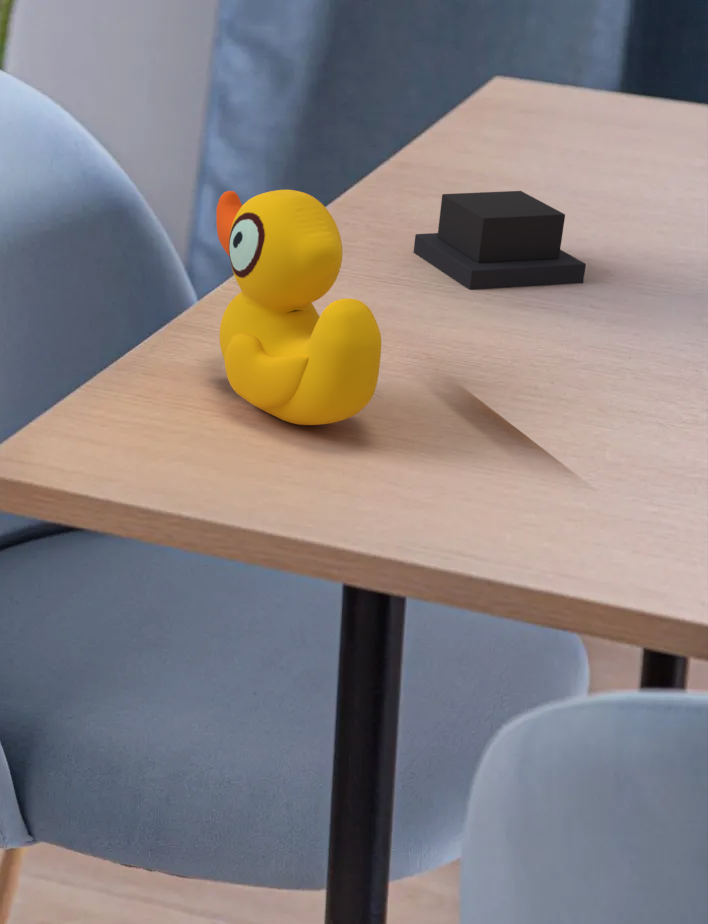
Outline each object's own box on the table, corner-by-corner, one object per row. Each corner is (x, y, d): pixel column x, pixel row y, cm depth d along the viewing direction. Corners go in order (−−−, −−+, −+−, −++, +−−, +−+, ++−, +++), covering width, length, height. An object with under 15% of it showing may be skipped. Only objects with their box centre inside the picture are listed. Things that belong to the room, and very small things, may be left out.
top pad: (515, 233, 101) (521, 190, 100) (559, 258, 97) (565, 214, 96) (436, 237, 100) (441, 193, 99) (478, 263, 95) (483, 218, 94)
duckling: (165, 378, 84) (175, 171, 80) (257, 362, 87) (272, 161, 83) (305, 464, 76) (325, 237, 71) (403, 443, 78) (428, 223, 74)
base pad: (518, 269, 103) (524, 228, 102) (579, 307, 97) (586, 263, 96) (410, 276, 101) (414, 233, 100) (466, 314, 95) (472, 270, 94)
